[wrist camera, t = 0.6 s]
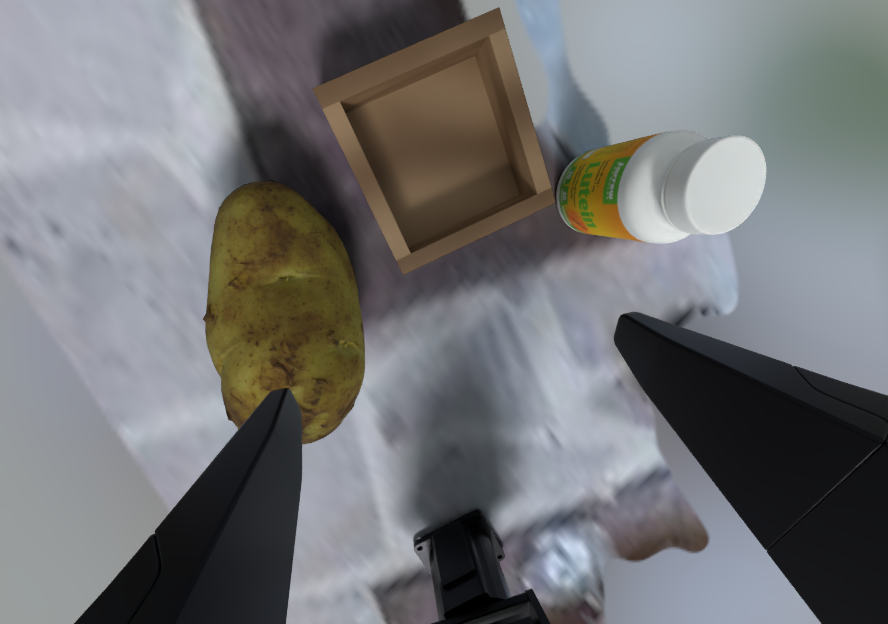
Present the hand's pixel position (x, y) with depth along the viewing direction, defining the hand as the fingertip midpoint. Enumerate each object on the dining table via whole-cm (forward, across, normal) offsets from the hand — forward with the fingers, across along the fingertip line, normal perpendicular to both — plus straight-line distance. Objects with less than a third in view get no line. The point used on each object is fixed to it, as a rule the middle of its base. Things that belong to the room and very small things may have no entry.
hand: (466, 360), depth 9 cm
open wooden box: (+16, -3, -2) cm, 16 cm away
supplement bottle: (+15, -13, +1) cm, 20 cm away
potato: (+14, +7, +5) cm, 16 cm away
